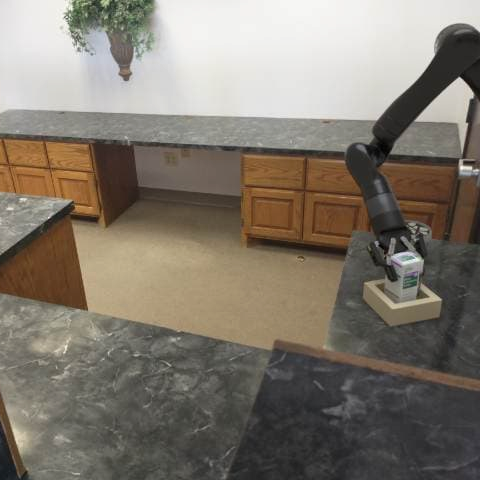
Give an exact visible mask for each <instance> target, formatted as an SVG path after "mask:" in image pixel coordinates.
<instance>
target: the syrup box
mask: <svg viewBox="0 0 480 480" xmlns="http://www.w3.org/2000/svg"><path fill="white" fill-rule="evenodd" d="M391 260H392V264H391V266H392V265H393V267H394V270H395V273H396V275H397V278H398V280H397V281H396V282H391V281H390V280H388V278H387V275H386V274H385V278H384V279H385V290H384V294H385V295H386V296H387V297H388V298H389V299H390V300H391V301H392V302H394V303H395V304H397V303H403V302H408V301H413V300H419V295H420V287H421V283H422V279H423V277H422V272H423V266H424V263H425V259H424V260H423V259H422V258H421V257H419V256H418V255H416V254H414V253H412V252H409V251H408V250H407V251H405V252H401V253H396V254H394V256H391Z"/></svg>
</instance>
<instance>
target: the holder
mask: <svg viewBox="0 0 480 480" xmlns="http://www.w3.org/2000/svg"><path fill="white" fill-rule="evenodd" d="M384 290H385V278H382V279H377V280H371V281H366V282H364V283H363V293H362V300H363V301H364V302H365V303H366V304H367V305H368V306H369V307H370V308H371V309H373V311H374V312H375V313H376V314H377V315H378V316H379V317H380V318H381V319H382V320H383V321H384V322H385V323H386V324H387V325H388V326H389V327H390V328H391V327H397V326H400V325H408V324H412V323H418V322H422V321H427V320H432V319H438V318H440V316H441V309H442V304H443V299H442V298H441V297H440V296H438V295H437V294H435V293H434V292H433V291H432V290H430V289H429V288H428V287H427V286H426V285H425V284H423V283H422V282H421V287H420V295H419V300H413V301H408V302H403V303H397V304H395V303H394V302H392V301H391V300H390V299H389V298H388V297H387V296H386V295H385V294H384Z"/></svg>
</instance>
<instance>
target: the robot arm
mask: <svg viewBox="0 0 480 480" xmlns="http://www.w3.org/2000/svg"><path fill="white" fill-rule="evenodd" d="M433 52H434V53H433V54H434V56H433V57H432V58H431V61H430V62H429V64H428V65H427V66H426V68H425V69H424V71H423V72H422V73H421V74H420V76H418V78H417V79H416V80H415V81H414V82H413V83H412V84H411V85H410V86H409V87H407V89H406V90H404V91H403V92H402V93H401V94H399V96H397V97H396V98H395V100H393V101H392V102H391V103H390V104H389V106H387V108H386V109H385V110H384V112H382V114H381V115H380V116H378V117H379V118H377V120H376V121H375V122H374V123H373V125H372V126H371V134H372V135H373V137H372V138H371V140H370V142H367V143H366V142H363V141H355V142H352V143H350V144H349V145H348V146H347V147H346V149H345V151H344V155H343V157H344V158H343V159H344V164H345V167H346V169H347V171H348V173H349V175H350V176H351V177H352V179H353V181H354V182H355V184H356V185H357V186H358V188H359V191H360V194H361V197H362V199H363V202H364V206H365V211H366V215H367V218H368V220H369V223H370V226H371V228H372V231H373V235H374V237H375V239H376V240H375V241H374V240H373V241H372V240H371V241H370V242H368V243H366V245H365V249H366V250H367V252H368V254H369V257H370V259H371V261H372V263H373V265H374V267H376V268H383V270H384V272H385V276H386V275H387V278H388V280H390V281H391V282H396V281H397V280H398V278H397V275H396V273H395V270H394V267H393V265H392V266H391V264H392V260H391V256H394V254H396V253H401V252H405V251H407V250H409V252H412V253H414V254H416V255H418V256H419V257H421V258H422V259H423V258H424V257H428V255H429V253H428V248H427V249H426V246H425V242H424V238H423V234H422V233H419V234H417V235H410V233H409V232H408V231H407V225H406V223H405V220H406V219H405V218H404V216H403V212H402V210H401V206H400V204H399V202H398V200H397V198H396V196H395V193H394V190H393V189H392V185H391V183H390V181H389V179H388V177H387V176H386V175H385V174H384V173H382V172H381V171H379V168H381V167H382V166H383V165H384V164H385V163H386V161H387V160H388V158H389V156H390V154H391V153H392V151H393V149H394V147H395V145H396V143H397V142H398V141H399V139H400V138H402V136H403V135H404V134H405V133H406V132H407V131H408V129H409V128H410V127H411V126H412V125H413V124H414V123H415V121H416V120H417V119H418V118H419V116H421V115H422V114H423V112H424V111H425V110H426V109H427V108H428V107H429V106H430V105H431V104H432V103H433V102H434V101H435V100H436V99H437V98H438V97H439V96H440V95H441V94H442V93H443V92H444V91H445V90H446V89H447V88H449V87H450V86H451V85H452V84H453V83H454V82H455V81H457V80H458V79H459V78H460V79H461V80H462V81H463V82H464V83H465V84H466V85H467V86H468V88H469V89H470V91H471V92H472V93H473V95H474V96H475V98H476V100H477V101H478V103H480V31H479V30H478V29H477V28H476V27H475V26H473V25H472V24H469V23H465V22H464V23H463V22H457V23H452V24H449V25H446V26H445V27H444V28H442V29H441V30H440V31H439V33H438V34H437V35H436V37H435V40H434V44H433ZM411 240H412V243H414V245H415V248H414V247H413V246H412V245H411V244H410V241H411ZM379 248H380V249H381V250H382V254H381V253H380V251H379ZM424 259H425V258H424ZM425 274H426V269H425V266H424V265H423V272H422V278H423V277H425Z"/></svg>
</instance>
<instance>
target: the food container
mask: <svg viewBox="0 0 480 480" xmlns="http://www.w3.org/2000/svg"><path fill="white" fill-rule="evenodd" d="M404 220H405V223H406V225H407V231H408V232H409V233H410V235H417V234H419V233H422V234H423V238H424V242H425V246H426V249H427V250H428V245H429V242H430V241H432V239H433V233H432V230H431V229H432V228H431V227H430V226H428V224H425V223H423V222H421V221H417V220H412V219H411V220H410V219H404ZM410 244H411V245H412V246H413V247H414V248H415V245H414V243H412V240H411V241H410ZM408 251H409V250H408ZM423 260H424V261H425V257H424V258H423Z"/></svg>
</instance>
